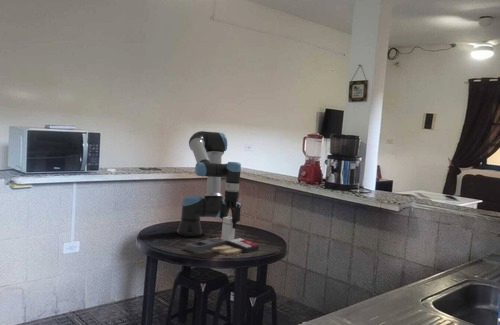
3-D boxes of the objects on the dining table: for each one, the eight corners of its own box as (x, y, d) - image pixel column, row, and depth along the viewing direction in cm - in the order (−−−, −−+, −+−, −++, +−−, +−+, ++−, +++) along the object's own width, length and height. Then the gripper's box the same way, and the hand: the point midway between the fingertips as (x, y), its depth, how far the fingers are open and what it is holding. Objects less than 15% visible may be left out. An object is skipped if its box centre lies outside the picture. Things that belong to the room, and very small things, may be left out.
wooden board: (211, 250, 224) (211, 247, 224) (225, 246, 233) (226, 244, 233) (227, 255, 216) (227, 253, 216) (242, 251, 226) (242, 249, 226)
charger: (221, 239, 224) (223, 216, 223) (227, 237, 228) (229, 216, 227) (228, 241, 220) (230, 218, 220) (234, 239, 224) (236, 217, 224)
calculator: (246, 247, 224) (227, 239, 233) (245, 254, 224) (226, 246, 234) (259, 244, 232) (240, 237, 242) (258, 251, 232) (239, 244, 242)
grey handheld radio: (195, 253, 216) (195, 246, 215) (184, 249, 221) (185, 242, 220) (234, 243, 240) (234, 237, 240) (224, 240, 245) (224, 234, 245)
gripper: (214, 188, 225) (211, 230, 226) (240, 193, 214) (236, 237, 215) (224, 187, 231) (220, 228, 232) (249, 192, 220) (245, 235, 221)
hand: (228, 232), depth 224 cm, fingers closed on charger, 5 cm apart
